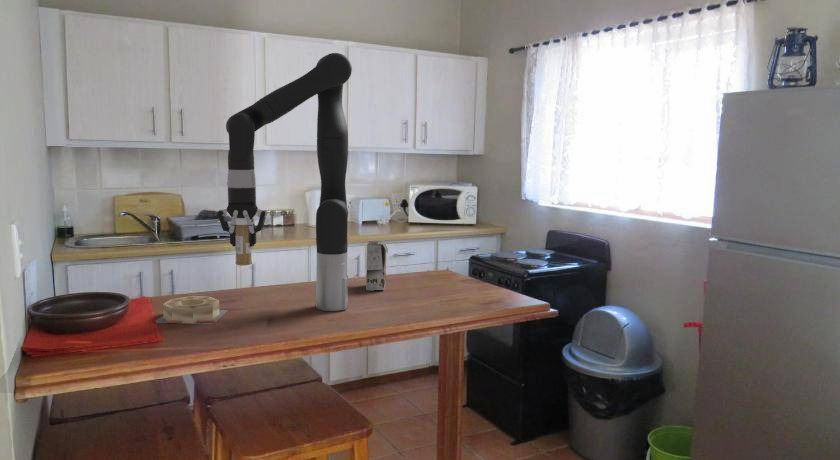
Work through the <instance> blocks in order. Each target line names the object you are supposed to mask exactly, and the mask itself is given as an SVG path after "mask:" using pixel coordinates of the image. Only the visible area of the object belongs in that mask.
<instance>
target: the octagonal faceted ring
mask: <svg viewBox="0 0 840 460" xmlns="http://www.w3.org/2000/svg"><path fill="white" fill-rule="evenodd" d="M219 310H220V300H219V299H216V298H214V297H211V296H202V295H200V296H198V295H197V296H194V295H190V296H184V297H177V298H171V299H169V300H167V301H165V303H163V304H162V316H163V318H164V319H166V320H180V321H183V322H181V323H198V322H196V321H197V320H198V319H214V318H215V317H217V316H218V315H219Z"/></svg>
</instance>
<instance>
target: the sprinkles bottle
mask: <svg viewBox="0 0 840 460" xmlns="http://www.w3.org/2000/svg"><path fill="white" fill-rule="evenodd" d="M247 219H248V218H247ZM248 222H249V221H248ZM234 248H235V259H236V260H235V264H236V265H237V266H250V265H252V264H253V261H252V247H250V230H249V227H248V225H247V221H246V219H245V218H237V219H236V223H235V247H234Z"/></svg>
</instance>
